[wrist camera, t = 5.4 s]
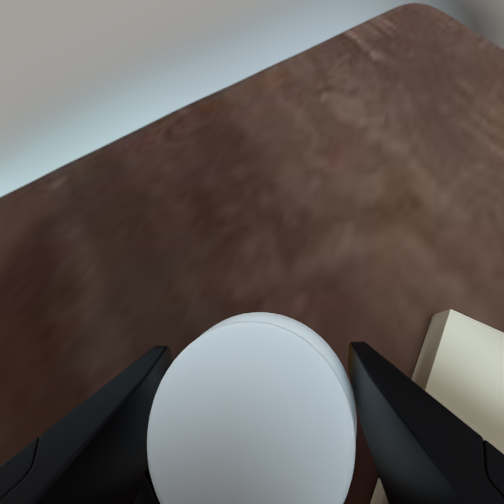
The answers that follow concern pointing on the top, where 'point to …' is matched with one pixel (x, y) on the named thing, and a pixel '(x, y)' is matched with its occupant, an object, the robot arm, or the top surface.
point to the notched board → (463, 375)
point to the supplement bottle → (253, 418)
